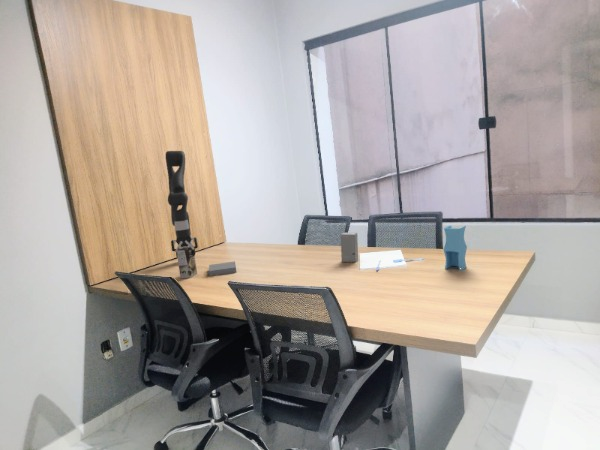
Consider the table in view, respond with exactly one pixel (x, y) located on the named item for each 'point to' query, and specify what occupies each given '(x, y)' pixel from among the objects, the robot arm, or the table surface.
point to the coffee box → (186, 262)
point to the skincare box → (349, 247)
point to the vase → (455, 247)
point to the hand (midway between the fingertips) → (186, 256)
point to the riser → (222, 268)
